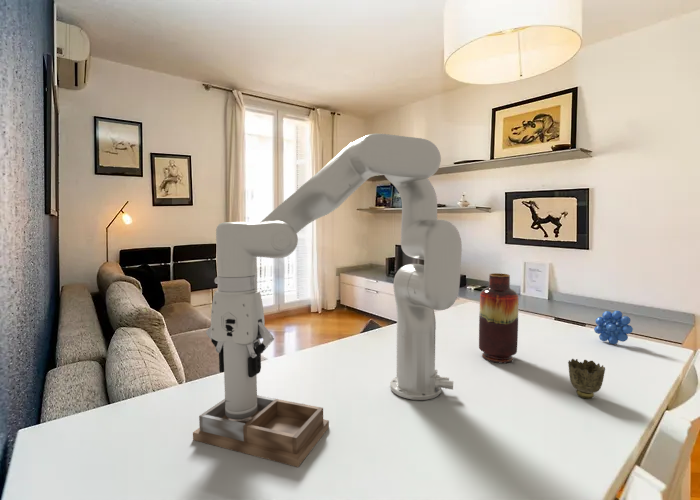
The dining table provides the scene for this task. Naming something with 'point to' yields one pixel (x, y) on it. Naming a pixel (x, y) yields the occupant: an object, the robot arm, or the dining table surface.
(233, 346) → the travel mug
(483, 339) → the vase
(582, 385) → the cup
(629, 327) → the grapes
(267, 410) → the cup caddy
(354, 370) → the dining table surface
